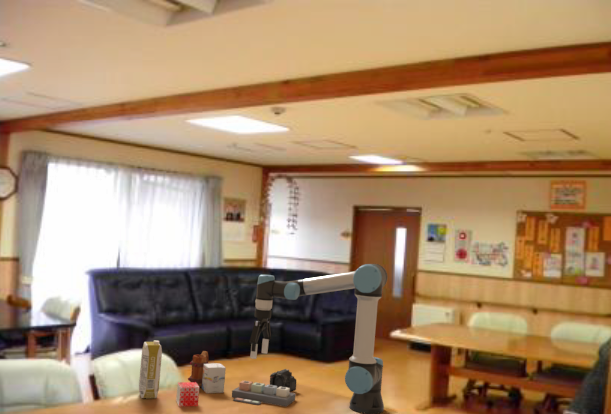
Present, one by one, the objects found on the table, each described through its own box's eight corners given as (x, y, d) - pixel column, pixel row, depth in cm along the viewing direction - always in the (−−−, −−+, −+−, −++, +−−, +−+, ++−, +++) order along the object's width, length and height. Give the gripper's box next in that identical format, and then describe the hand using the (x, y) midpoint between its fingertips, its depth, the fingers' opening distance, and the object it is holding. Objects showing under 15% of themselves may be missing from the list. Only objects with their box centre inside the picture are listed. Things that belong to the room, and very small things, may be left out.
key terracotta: (252, 389, 276) (252, 381, 276) (248, 392, 272) (248, 383, 272) (242, 388, 278) (243, 379, 278) (238, 390, 273) (239, 382, 274)
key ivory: (289, 396, 271) (289, 387, 271) (285, 398, 266) (286, 389, 267) (279, 394, 272) (280, 385, 272) (276, 396, 268) (276, 388, 268)
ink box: (201, 388, 281) (203, 363, 281) (218, 387, 284) (220, 362, 285) (206, 393, 273) (208, 367, 274) (224, 392, 277) (226, 367, 277)
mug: (201, 389, 280) (204, 356, 280) (185, 386, 281) (187, 354, 282) (212, 382, 294) (215, 351, 294) (196, 379, 296) (199, 349, 296)
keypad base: (295, 400, 274) (295, 393, 274) (286, 406, 262) (286, 399, 262) (242, 391, 282) (242, 384, 282) (231, 397, 270) (232, 390, 270)
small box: (176, 401, 258) (177, 382, 259) (194, 400, 261) (196, 382, 261) (179, 406, 251) (180, 387, 251) (197, 406, 254) (199, 387, 254)
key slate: (276, 393, 273) (277, 385, 273) (273, 396, 268) (273, 387, 268) (267, 392, 274) (267, 383, 274) (263, 394, 270) (264, 386, 270)
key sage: (264, 391, 274) (265, 383, 275) (260, 394, 270) (261, 385, 270) (255, 390, 276) (255, 381, 276) (251, 392, 272) (251, 384, 272)
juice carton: (158, 399, 259) (163, 342, 260) (139, 399, 256) (144, 342, 257) (155, 393, 268) (160, 338, 269) (137, 393, 265) (142, 338, 266)
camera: (265, 390, 287) (267, 369, 287) (272, 385, 296) (274, 365, 297) (292, 394, 283) (293, 373, 283) (298, 389, 292) (300, 369, 293)
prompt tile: (261, 403, 264) (261, 401, 264) (258, 405, 261) (258, 403, 261) (236, 399, 268) (236, 397, 268) (233, 400, 265) (233, 398, 265)
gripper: (265, 305, 287) (261, 350, 286) (245, 310, 263) (240, 359, 263) (280, 307, 285) (276, 352, 284) (260, 312, 261) (256, 362, 260)
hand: (258, 355), depth 273 cm, fingers open, 13 cm apart
